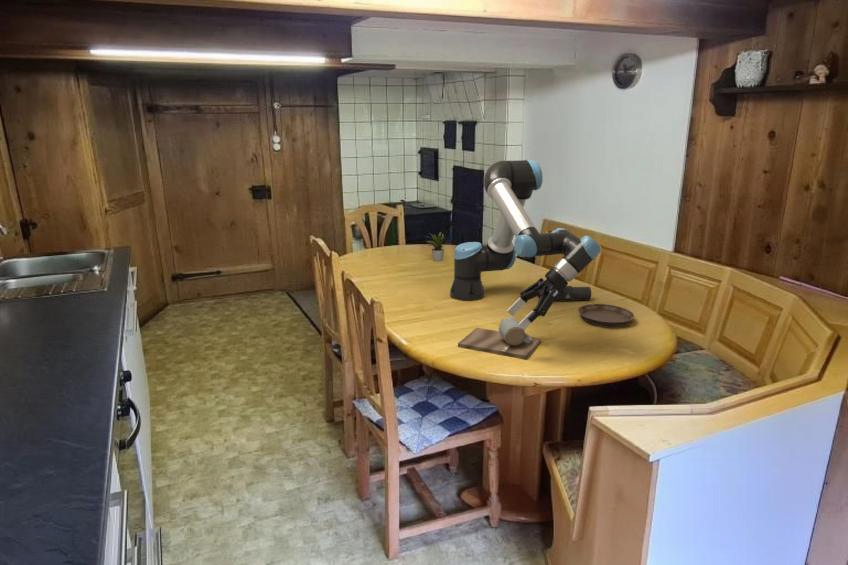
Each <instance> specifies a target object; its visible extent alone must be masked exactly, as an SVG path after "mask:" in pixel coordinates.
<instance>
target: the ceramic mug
mask: <svg viewBox="0 0 848 565" xmlns="http://www.w3.org/2000/svg"><path fill="white" fill-rule="evenodd" d="M519 323H520V321H519V320H518V319H516V318H514V317H506V318H504V319H503V320H502V321H501V322H500V324H499V327H498V331H499V332H500V334H501V336H502V337H503V338H504V340H505V341H506V342H507V343H508V344H510V345H512V346H516V345H519V344H521V343H522V342H526V343H531V341H532V338H531V337H532V336H530V335H529V334H528V333H526V331H525V330H524V329H522V328H521V327H520V326H519V325H518V324H519Z"/></svg>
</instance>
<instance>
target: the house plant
mask: <svg viewBox="0 0 848 565" xmlns="http://www.w3.org/2000/svg"><path fill="white" fill-rule="evenodd" d="M428 234H429V235H430V236H431V237H430V236H428V235H427V238H429V239H430V240H426V242H427V244H428V245H427V247H428V246H429V248H430V247H433V248H432V249H431V253H432V254H431V255H432V259H433V261H434V262H443V259H444V253H445V246H444V244H446V242H444V241H445V240H446V238H448V236H447V237H445V235H444V234H442V232H441V231H440V232H438V235H436V234H435V233H433V234H432V233H430V232H429V233H428Z"/></svg>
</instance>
